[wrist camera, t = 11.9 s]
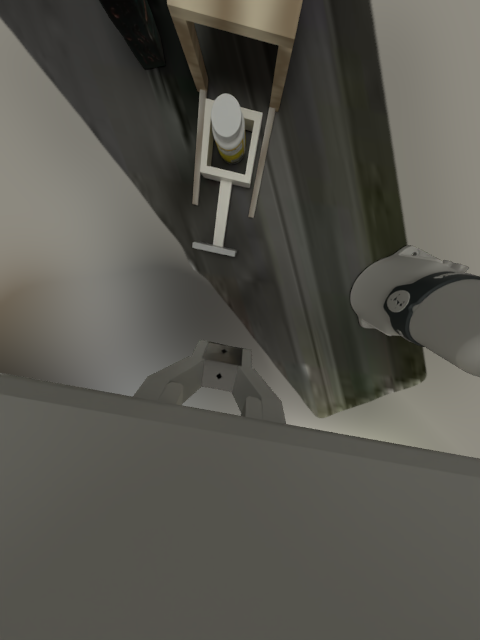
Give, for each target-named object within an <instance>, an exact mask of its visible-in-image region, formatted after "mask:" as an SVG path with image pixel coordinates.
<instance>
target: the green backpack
mask: <svg viewBox="0 0 480 640" xmlns="http://www.w3.org/2000/svg"><path fill="white" fill-rule="evenodd" d="M99 1H100V3H101V4H102V6H103V8H104V9H105V11H106V13H107V14H108V16H109V18H110V19H111V21H112V22H113V23H114V25H115V26H116V28H117V29H118V30H119V31H120V33H121V34H122V36H123V37H124V39H125V40H126V42H127V44H128V45H129V47H130V49H131V50H132V52H133V53H134V55H135V57H136V58H137V59H138V61H139V62H140V64H141V65H142V67H143V68H144V69H151V68H156V67H160V66H166V64H165V59H164V54H163V48H162V43H161V38H160V35H159V32H158V29H157V26H156V24H155V21H154V18H153V15H152V12H151V9H150V7H149V4H148V2H147V0H99Z"/></svg>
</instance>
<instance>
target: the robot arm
mask: <svg viewBox="0 0 480 640" xmlns="http://www.w3.org/2000/svg"><path fill="white" fill-rule="evenodd" d="M413 253H414V254H413ZM412 254H413V255H412ZM468 269H469V267H468V266H465V265H462V264H456V263H453V262H451V261H447V260H443V261H442V260H440V259H438V258H436V257H434V256H432V255H430V254H428V253H427V252H425V251H423V250H421V249H419V248H417V247H415V246H411V245H408V246H405V247H403V248H402V249H400V250H399V251H397V252H396V253H395V254H394V255H392V256H390V257H387V258H384V259H381V260H379V261H377V262H375V263H373V264H372V265H370V266H369V267H368V268H366V269H365V270H364V271H363V272H362V273H361V274H360V276H359V277H358V278H357V280H356V281H355V283H354V285H353V287H352V290H351V295H350V301H351V306H352V308H353V310H354V311H355V312H356V314H357V315H358V318H359V324H360V326H362V327H364V328H376V329H378V330H379V331H381V332H383V333H384V334H386V335H388V336H392V335H394V336H402V337H403V338H404V339H406V340H408V341H410V342H412V343H414V344H416V345H419V346H422V347H426V348H428V349H429V350H431V351H432V352H434V353H436V354H437V355H439V356H441V357H442V358H444V359H445V360H447V361H449V362H450V363H452V364H454V365H455V366H457V367H458V368H460V369H462V370H463V371H465V372H467V373H469V374H472V375H475V376H478V377H480V277H479V276H476V275H472V274H468V273H465V272H466V271H467V270H468ZM201 386H202V387H208V388H214V389H220V390H224V391H229V392H232V394H233V396H234V398H235V401H236V403H237V405H238V407H239V409H240V411H241V416H238V415H232V414H227V413H220V412H215V411H210V410H204V409H199V408H193V407H187V406H182V404H183V403H184V402H185V401H186V400H187V399H188V398H189V397H190V396H191V395H193V394H194V393H195V392H196V391H197V390H198V389H199V388H201ZM0 640H480V459H479V458H473V457H467V456H461V455H456V454H450V453H444V452H439V451H433V450H427V449H422V448H417V447H411V446H405V445H400V444H394V443H389V442H382V441H377V440H371V439H366V438H360V437H355V436H349V435H343V434H338V433H333V432H327V431H321V430H316V429H310V428H305V427H299V426H293V425H288V424H286V421H285V417H284V412H283V406H282V402H281V400H280V399H279V398H278V397H277V396H276V394H275V393H274V392H273V391H272V390H271V388H270V387H269V386H268V385H267V383H266V382H265V381H264V380H263V379H262V377H261V376H260V375H259V374H258V373H257V371H256V370H255V369H252V351H251V350H250V349H244V348H237V347H232V346H226V345H223V344H218V343H214V342H208V341H204V340H199V342H198V344H197V346H196V348H195V350H194V352H193V354H192V356H191V357H189V356H188V357H186V358H184V359H182V360H180V361H178V362H176V363H174V364H172V365H170V366H168V367H166V368H164V369H162V370H160V371H158V372H156V373H154V374H152V375H150V376H148V377H147V378H146V380H145V381H144V382H143V384H142V385H141V387H140V388H139V389H138V390H137V392H136V393H135V395H134V396H133V397H131V396H126V395H120V394H115V393H109V392H104V391H98V390H93V389H87V388H82V387H76V386H70V385H64V384H59V383H53V382H48V381H42V380H37V379H31V378H26V377H20V376H15V375H9V374H3V373H0Z"/></svg>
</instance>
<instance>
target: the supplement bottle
mask: <svg viewBox="0 0 480 640" xmlns="http://www.w3.org/2000/svg"><path fill="white" fill-rule="evenodd" d="M211 121H212V132H213V136H214V139H215V142H216V144H217V147H218V150H219V153H220V155H221V157H222V159H223V160H224V161H225V162H227V163H229V164H236V163H238V162H239V161H240V160H241V159H242V158H243V156H244V154H245V150H246V136H245V120H244V116H243V114H242V112H241V108H240V105H239V103H238V101H237V100H236V98H235V97H234V96H232V95H230V94H222V95H220V96H218V97H217V98H216V100H215V101H214V103H213V106H212V109H211Z"/></svg>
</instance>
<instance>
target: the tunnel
mask: <svg viewBox="0 0 480 640" xmlns="http://www.w3.org/2000/svg"><path fill="white" fill-rule="evenodd" d="M302 1H303V0H167V5H168V8H169V11H170V14H171V17H172V19H173V22H174V25H175V28H176V31H177V34H178V37H179V39H180V42H181V45H182V48H183V51H184V54H185V56H186V59H187V62H188V65H189V68H190V71H191V74H192V76H193V79H194V82H195V85H196V88H197V91H198V92H200V96H199V111H198V127H197V142H196V158H195V173H194V188H193V204H194V205H199V193H200V180H201V173H200V165H201V152H202V139H203V126H204V113H205V100H206V99H207V90H208V76H207V73H206V69H205V65H204V61H203V57H202V53H201V49H200V46H199V42H198V38H197V34H196V30H195V26H194V23H198V24H202V25H205V26H209V27H213V28H216V29H220V30H224V31H227V32H231V33H235V34H238V35H242V36H246V37H249V38H253V39H257V40H260V41H264V42H268V43H271V44H275V45H279V47H278V53H277V60H276V67H275V73H274V80H273V86H272V93H271V100H270V106H269V112H268V117H267V122H266V128H265V133H264V138H263V143H262V148H261V154H260V159H259V164H258V169H257V175H256V180H255V185H254V190H253V195H252V201H251V206H250V211H249V216H248V217H251V218H254V213H255V208H256V203H257V198H258V193H259V188H260V183H261V178H262V173H263V168H264V163H265V158H266V154H267V149H268V144H269V139H270V134H271V129H272V124H273V119H274V114H275V111H276V112H278V110H279V106H280V101H281V97H282V93H283V88H284V84H285V79H286V75H287V70H288V66H289V61H290V57H291V53H292V48H293V44H294V39H295V34H296V30H297V25H298V20H299V15H300V11H301V6H302Z"/></svg>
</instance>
